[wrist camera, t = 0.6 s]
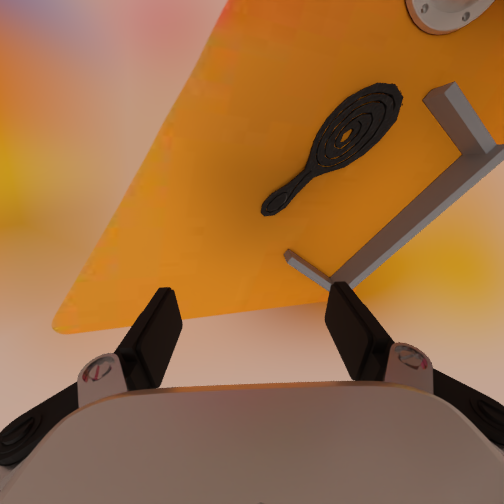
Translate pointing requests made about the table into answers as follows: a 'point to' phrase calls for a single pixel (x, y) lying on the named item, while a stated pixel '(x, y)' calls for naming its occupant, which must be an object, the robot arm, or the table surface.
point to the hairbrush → (363, 125)
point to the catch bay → (432, 198)
